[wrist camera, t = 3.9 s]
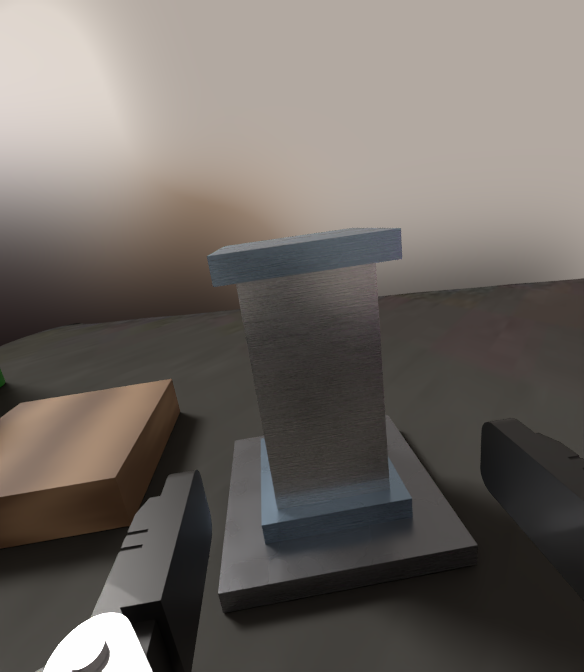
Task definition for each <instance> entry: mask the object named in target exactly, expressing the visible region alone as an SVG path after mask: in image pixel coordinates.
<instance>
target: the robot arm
mask: <svg viewBox="0 0 584 672" xmlns="http://www.w3.org/2000/svg"><path fill="white" fill-rule="evenodd" d="M480 469H481V475H482V479H483V481H484V484H485V486H486V487H487V489H488V491H489V492H490V493H491V494H492V495H493V497H494V498H495V499H496V500H497V501H498V502H499V503H500V505H501V506H502V507H503V508H504V509H505V510H506V512H507V513H508V514H509V515H510V516H511V517H512V518H513V520H514V521H515V522H516V523H517V524H518V525H519V527H520V528H521V529H522V530H523V531H524V532H525V534H526V535H527V536H528V537H529V538H530V539H531V540H532V542H533V543H534V544H535V545H536V546H537V547H538V549H539V550H540V551H541V552H542V553H543V554H544V555H545V557H546V558H547V559H548V560H549V561H550V562H551V564H552V565H553V566H554V567H555V568H556V569H557V570H558V572H559V573H560V574H561V575H562V576H563V577H564V579H565V580H566V581H567V582H568V583H569V584H570V585H571V587H572V588H573V589H574V590H575V591H576V592H577V594H578V595H579V596H580V597H581V598H582V599H583V600H584V459H583V458H580V457H579V455H578V454H576V453H575V452H574V451H572V450H571V449H569V448H568V447H567V446H565V445H564V444H562V443H561V442H559V441H556V440H554V439H552V438H549V437H547V436H545V435H543V434H540V433H534V432H533V431H532V430H530V429H529V428H528V427H526V426H525V425H524V424H522V423H521V422H520V421H518V420H517V419H515V418H508V419H502V420H496V421H490V422H485V423H484V424H483V426H482V435H481V465H480ZM127 533H128V535H127V536H126V537H125V539H124V542H123V544H122V546H121V552H119V553H118V556H117V558H116V560H115V563H114V565H113V567H112V570H111V572H110V574H109V577H108V579H107V581H106V584H105V586H104V588H103V591H102V593H101V595H100V597H99V600H98V602H97V604H96V607H95V609H94V611H93V614H92V616H91V618H90V619H89V620H88V621H86V622H84V623H83V624H81V625H80V626H78V627H77V628H76V629H75V630H73V631H72V632H71V633H70V634H69V635H68V636H67V637H66V638H65V639H64V640H63V641H62V642H61V643H60V645H59V646H58V647H57V649H56V650H55V651H54V653H53V654H52V656H51V658H50V659H49V661H48V663H47V665H46V666H45V667H43V668H41V669H39V670H37V671H36V672H191V670H192V664H193V657H194V650H195V644H196V637H197V631H198V624H199V618H200V611H201V605H202V598H203V592H204V585H205V578H206V572H207V565H208V559H209V552H210V546H211V539H212V523H211V515H210V511H209V507H208V503H207V499H206V495H205V491H204V487H203V483H202V479H201V475H200V473H199V471H198V470H193V471H187V472H181V473H175V474H170V475H169V476H168V477H167V480H166V483H165V485H164V488H163V491H162V493H161V496H157V497H151V498H149V499H148V500H147V502H146V503H145V504H144V505H143V506H142V507H141V508H140V510H139V511H138V512H137V513H136V514H135V516H134V518H133V521H132V523H131V525H130V528H129V530H128V532H127Z"/></svg>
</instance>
